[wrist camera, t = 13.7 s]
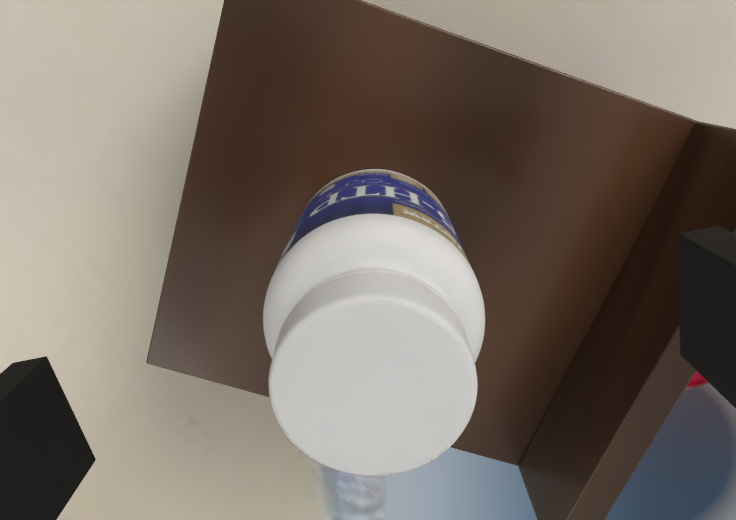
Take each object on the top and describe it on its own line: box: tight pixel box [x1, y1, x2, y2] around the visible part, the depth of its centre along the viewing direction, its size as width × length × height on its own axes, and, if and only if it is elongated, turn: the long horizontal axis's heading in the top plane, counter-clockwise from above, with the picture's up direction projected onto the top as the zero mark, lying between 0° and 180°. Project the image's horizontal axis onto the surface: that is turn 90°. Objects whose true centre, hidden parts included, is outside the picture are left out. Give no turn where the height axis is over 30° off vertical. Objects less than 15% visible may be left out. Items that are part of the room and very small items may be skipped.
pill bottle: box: [263, 169, 485, 476], centre depth 15 cm, size 5×5×9 cm
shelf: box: [147, 0, 736, 520], centre depth 21 cm, size 16×14×12 cm
